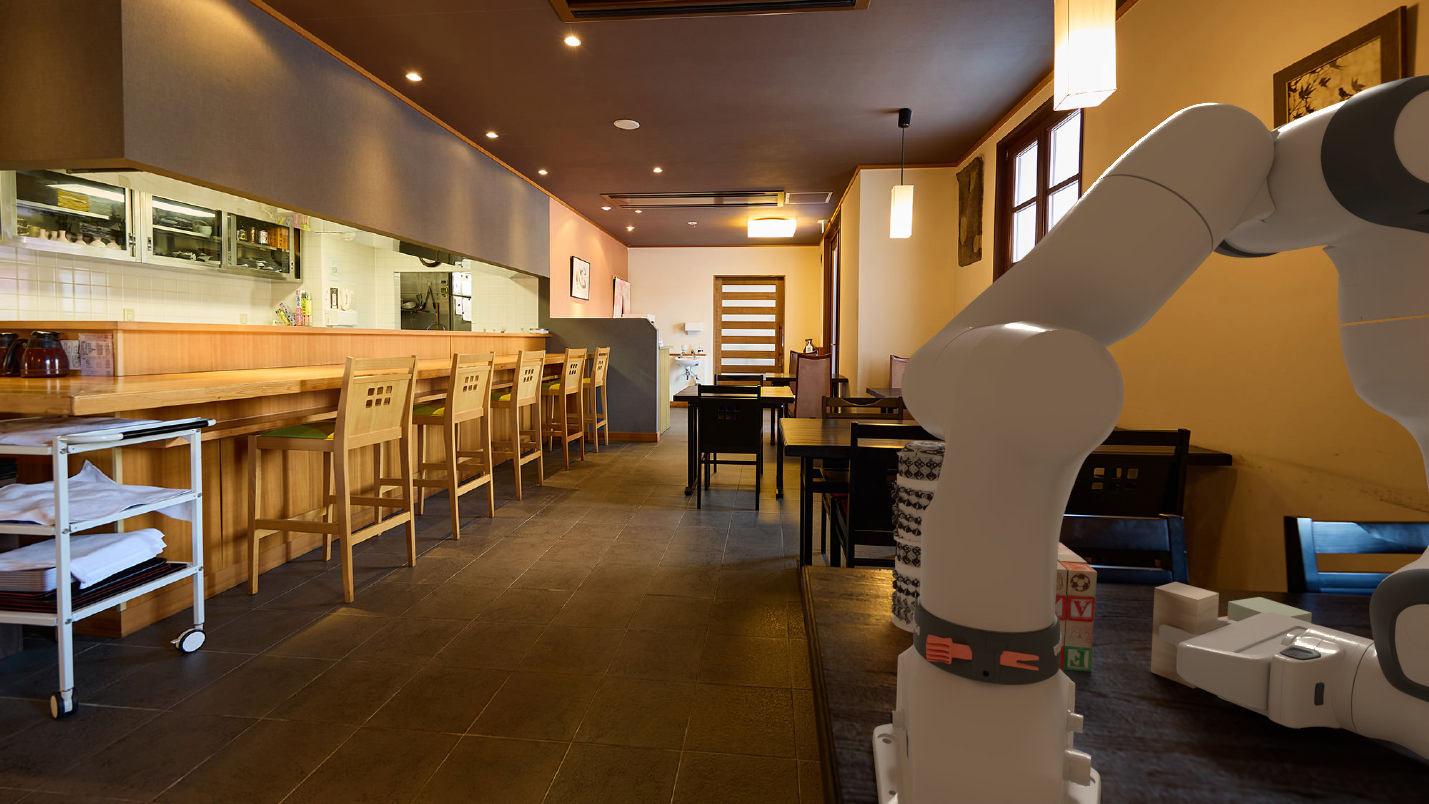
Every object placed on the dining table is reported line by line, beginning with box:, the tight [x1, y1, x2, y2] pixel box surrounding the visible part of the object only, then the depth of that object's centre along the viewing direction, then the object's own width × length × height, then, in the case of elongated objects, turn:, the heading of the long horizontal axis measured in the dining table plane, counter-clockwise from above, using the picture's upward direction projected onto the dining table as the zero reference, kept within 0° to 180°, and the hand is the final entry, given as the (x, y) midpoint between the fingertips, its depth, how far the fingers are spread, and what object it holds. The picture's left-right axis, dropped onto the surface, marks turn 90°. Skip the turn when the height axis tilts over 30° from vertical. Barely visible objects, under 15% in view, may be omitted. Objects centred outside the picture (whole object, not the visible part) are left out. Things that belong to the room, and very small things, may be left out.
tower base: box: [1218, 596, 1313, 623], centre depth 86 cm, size 8×8×5 cm
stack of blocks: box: [1055, 541, 1098, 672], centre depth 88 cm, size 21×6×12 cm, turn 170°
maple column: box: [1150, 581, 1220, 689], centre depth 76 cm, size 4×4×10 cm
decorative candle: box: [890, 440, 945, 634], centre depth 91 cm, size 9×9×25 cm
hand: (1176, 625), depth 77 cm, fingers closed on maple column, 4 cm apart
